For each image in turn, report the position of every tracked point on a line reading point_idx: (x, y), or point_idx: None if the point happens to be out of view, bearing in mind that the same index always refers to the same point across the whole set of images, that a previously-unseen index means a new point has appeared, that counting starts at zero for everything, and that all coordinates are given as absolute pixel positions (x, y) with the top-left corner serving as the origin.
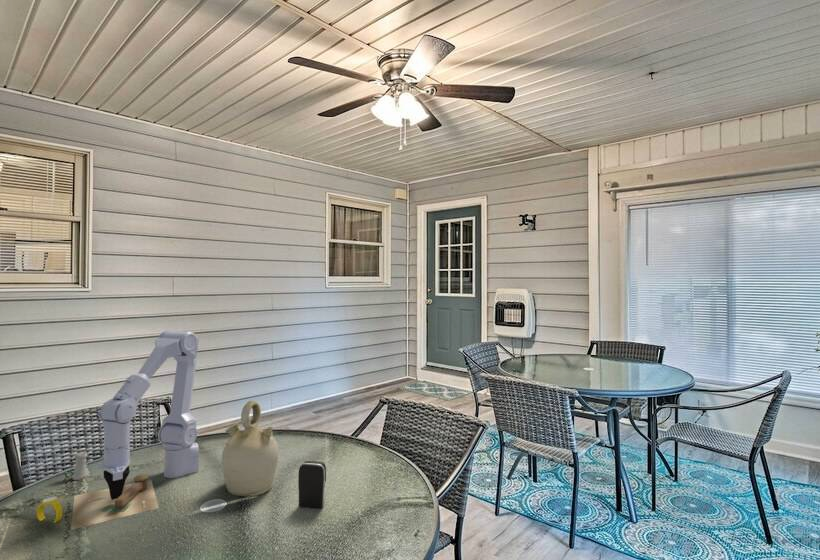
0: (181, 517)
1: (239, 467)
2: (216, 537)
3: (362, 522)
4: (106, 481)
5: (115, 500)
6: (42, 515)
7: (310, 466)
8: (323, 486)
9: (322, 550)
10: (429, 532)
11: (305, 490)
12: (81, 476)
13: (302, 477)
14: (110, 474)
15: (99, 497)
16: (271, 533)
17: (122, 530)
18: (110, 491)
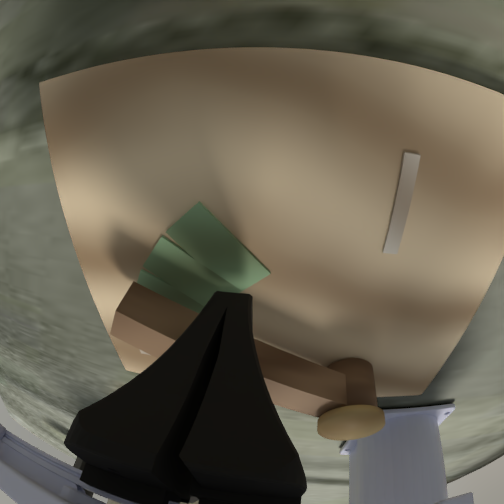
0: (81, 373)
1: (109, 499)
2: (13, 367)
3: (51, 436)
4: (107, 397)
5: (115, 313)
6: None
7: None
8: None
9: (4, 397)
10: (37, 436)
11: (78, 464)
12: None
13: None
14: (94, 464)
15: (422, 221)
16: (27, 400)
17: (31, 261)
18: (186, 332)
